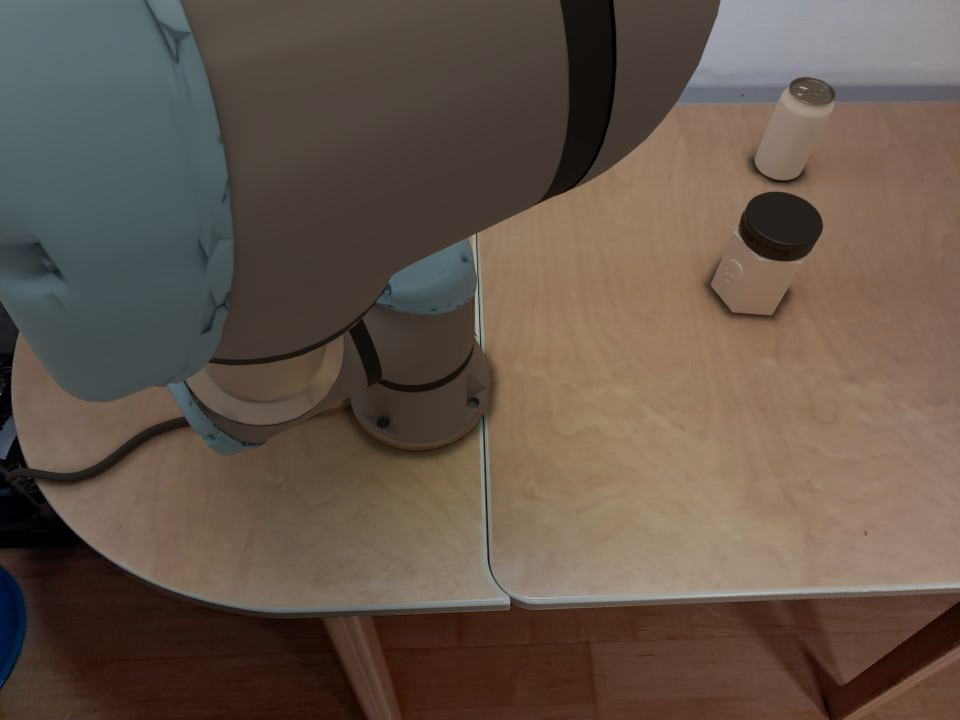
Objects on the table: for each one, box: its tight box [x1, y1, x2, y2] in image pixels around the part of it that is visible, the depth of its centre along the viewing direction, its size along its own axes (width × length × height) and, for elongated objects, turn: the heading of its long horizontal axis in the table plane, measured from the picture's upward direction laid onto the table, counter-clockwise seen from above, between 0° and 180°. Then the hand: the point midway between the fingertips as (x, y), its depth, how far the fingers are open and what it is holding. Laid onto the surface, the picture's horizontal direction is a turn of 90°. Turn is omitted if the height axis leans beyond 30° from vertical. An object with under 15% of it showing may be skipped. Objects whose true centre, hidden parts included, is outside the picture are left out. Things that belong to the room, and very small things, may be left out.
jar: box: [710, 191, 824, 316], centre depth 79 cm, size 9×8×12 cm
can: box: [754, 76, 837, 182], centre depth 92 cm, size 6×6×12 cm
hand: (127, 106), depth 66 cm, fingers open, 13 cm apart
